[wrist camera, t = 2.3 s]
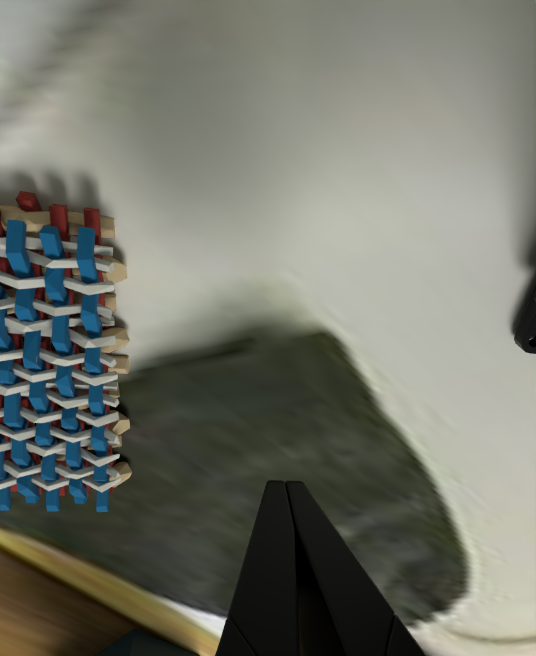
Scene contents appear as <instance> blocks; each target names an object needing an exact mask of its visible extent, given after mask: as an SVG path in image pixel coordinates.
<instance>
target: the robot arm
mask: <svg viewBox="0 0 536 656" xmlns="http://www.w3.org/2000/svg"><path fill="white" fill-rule="evenodd" d="M535 334H536V288H535V290H534V293H533V295H532V297H531V299H530V302H529V304H528V306H527V308H526V310H525V313H524V315H523V317H522V319H521V322H520V324H519V326H518V328H517V331H516V333H515V337H514V340H515V343H516V344H517V345H518V346H519V347H520V348H521V349H523V350H524V351H525V352H527V353H533V354H536V335H535ZM533 335H535V337H534V338H533V339H531V340H530V338H531V337H532V336H533ZM394 615H395V611H394V610H393V608H392V607H391V606H390V604H389V603H388V601H387V600H386V599H385V597H384V596H383V594H382V593H381V591H380V590H379V589H378V587H377V586H376V584H375V583H374V582H373V580H372V579H371V577H370V576H369V574H368V573H367V572H366V570H365V569H364V567H363V566H362V565H361V563H360V562H359V560H358V559H357V558H356V556H355V555H354V553H353V552H352V550H351V549H350V548H349V546H348V545H347V543H346V542H345V541H344V539H343V538H342V536H341V535H340V533H339V532H338V531H337V529H336V528H335V526H334V525H333V524H332V522H331V521H330V519H329V518H328V516H327V515H326V514H325V512H324V511H323V509H322V508H321V507H320V505H319V504H318V502H317V501H316V500H315V498H314V497H313V495H312V494H311V492H310V491H309V490H308V488H307V487H306V485H305V484H304V483H303V482H301V481H286V482H285V483H284V481H276V480H269V481H268V482H267V483H266V487H265V490H264V493H263V497H262V500H261V504H260V507H259V511H258V514H257V517H256V521H255V524H254V528H253V531H252V534H251V538H250V541H249V545H248V548H247V551H246V555H245V558H244V562H243V565H242V568H241V572H240V575H239V579H238V582H237V585H236V589H235V592H234V596H233V599H232V603H231V606H230V609H229V613H228V617H227V620H226V622H225V626H224V629H223V632H222V636H221V639H220V642H219V645H218V648H217V651H216V654H215V656H427V655H426V654H425V653H424V651H423V650H422V649H421V647H420V646H419V644H418V643H417V642H416V640H415V639H414V638H413V636H412V635H411V634H410V632H409V631H408V630H407V628H406V627H405V625H404V624H403V622H402V621H401V620H400V618H399V617H398V616H397V615H395V616H394Z"/></svg>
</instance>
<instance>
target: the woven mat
mask: <svg viewBox="0 0 536 656" xmlns="http://www.w3.org/2000/svg"><path fill="white" fill-rule="evenodd" d="M16 201H17V203H18V205H19V207H20V208H18V207H16V206H4V205H0V510H10V508H11V505H12V501H11V499H10V491H16V492H20V493H21V494H23V495H24V496H25V498H26V503H36V502H37V501H38V500H39V499H40V494H42V492H43V489H46V490H47V495H46V507H47V511H59V509H60V500H59V496H65V494H66V491H67V485H68V484H69V491H70V493H71V494H72V495H73V496H74V500H75V504H85V502H86V501H87V500H88V499H87V497H88V495H89V493H90V490H91V487H92V488H94V489H96V490H97V505H96V508H97V512H108V507H109V502H108V495H109V492H113V491H114V490H115V487H116V486H118V485H119V484H121V483H122V482H124V481H125V480H127V479H128V478H130V476H131V473H132V471H131V469H130V467H129V465H128V463H126V462H119V463H117V464H116V459H118V458H119V456H120V454H115V455H113V453H112V448H113V447H121V446H122V440H121V435H120V434H122V433H123V432H125V431H126V430H128V429H130V422H129V419H128V418H127V417H125V416H124V415H123V414H121V413H120V412H118V411H116V410H110V406H113V407H116V406H117V405H118V404H119V401H118V399H117V397H120V393H119V387H118V382H110V381H113V380H116V379H117V378H118V374H117V373H124V374H128V373H129V357H128V356H112V355H109V353H110V352H112V351H115V350H117V349H120V348H122V347H124V346H125V345H126V344H127V343H128V342H129V341H130V340H129V337H128V335H127V332H126V330H125V329H124V328H120V327H114V328H110V326H112V325H114V316H112V312H113V311H116V295H112V294H104V292H110V291H114V287H115V285H114V283H117V282H119V281H122V280H124V279H126V278H127V272H126V265H124V264H123V263H121V262H119V261H118V260H116V259H114V258H113V257H111V256H113V247H107V246H102V244H101V237H103V238H115V228H114V218H109V217H102V216H100V210H99V209H93V208H85V209H84V214H83V213H77V212H68V211H67V205H58V204H53V205H51V206H49V211H41V207H40V205H39V203H38V201H37V199H36V196H35V194H34V193H28V192H21V191H20V193H19V195H18V196H17V198H16ZM5 232H7V235H5ZM69 235H73V236H78V243H73V242H70V236H69ZM71 252H73V253H71ZM102 255H104V256H102ZM42 272H46V273H45V276H43V275H42ZM73 275H81V278H82V281H83V282H80V281H78V280H75V279H73ZM104 281H105V282H104ZM76 313H81V316H80V317H76ZM47 314H50V315H52V316H53V319H48V318H47ZM22 337H25V340H24V348H23V342H22ZM50 339H52V343H53V345H54V347H55V349H56V351H57V352H51V344H50ZM78 345H79V346H81V347H82V348H84V349H86V351H85V353H81V354H80V353H79V347H78ZM83 371H87V372H88V373H89V374H88V373H86V372H83ZM55 378H56V379H55ZM58 404H59V405H60V406H62V407H63V408H58ZM32 405H33V407H32ZM89 407H90V409H87V408H89ZM35 423H37V425H36V426H35ZM86 425H92V429H89V430H86ZM10 427H11V428H13V430H11V428H10ZM62 427H63V428H62ZM65 429H66V430H67V432H66V430H65ZM91 449H94V450H95V451H96V456H95V455H93V454H91V453H90V452H88V450H91ZM39 455H41V456H43V458H40V456H39Z"/></svg>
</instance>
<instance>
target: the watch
mask: <svg viewBox="0 0 536 656" xmlns="http://www.w3.org/2000/svg"><path fill="white" fill-rule="evenodd" d="M96 656H199V655H197V654H194V653H192V652H189V651H187V650H184V649H182V648H180V647H177V646H175V645H172V644H170V643H167V642H165V641H163V640H160V639H158V638H155V637H153V636H150V635H148V634H145V633H143V632H141V631H138V630H136V629H134V630H133V631H131V632H130V633H128V634H127V635H125V636H124V637H122V638H121V639H119V640H118V641H116V642H115V643H113V644H112V645H111V646H109V647H108V648H106V649H105V650H103V651H102V652H100V653H99V654H97V655H96Z"/></svg>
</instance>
